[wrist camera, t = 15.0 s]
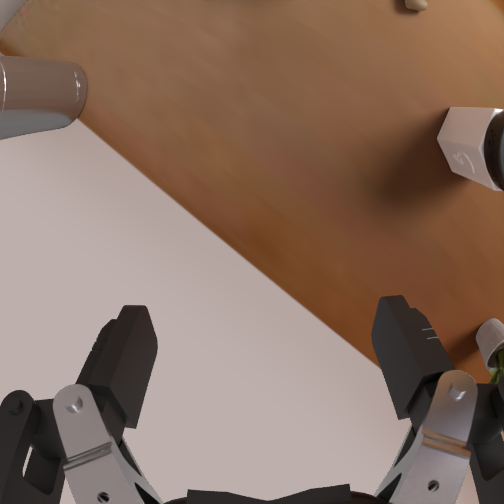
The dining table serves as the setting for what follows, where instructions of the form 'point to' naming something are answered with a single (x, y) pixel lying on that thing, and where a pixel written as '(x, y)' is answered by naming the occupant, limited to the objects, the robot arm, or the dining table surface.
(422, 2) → the roller
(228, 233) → the dining table surface
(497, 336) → the house plant
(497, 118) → the jar
